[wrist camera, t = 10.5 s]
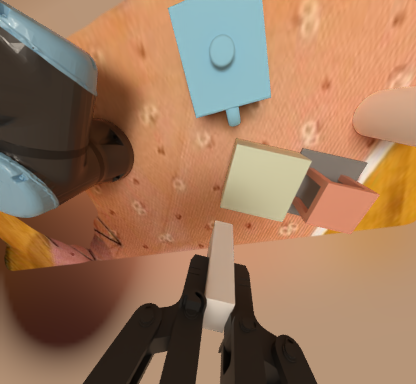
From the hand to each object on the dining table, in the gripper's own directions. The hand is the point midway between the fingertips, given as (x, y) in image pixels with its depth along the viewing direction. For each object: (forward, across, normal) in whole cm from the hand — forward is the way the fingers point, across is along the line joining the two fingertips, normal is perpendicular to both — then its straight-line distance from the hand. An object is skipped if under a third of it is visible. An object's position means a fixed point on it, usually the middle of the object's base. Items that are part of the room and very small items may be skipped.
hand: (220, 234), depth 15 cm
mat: (+28, +23, -3) cm, 36 cm away
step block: (+28, +8, -3) cm, 30 cm away
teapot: (+29, -5, +17) cm, 34 cm away
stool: (+23, +18, -3) cm, 30 cm away
